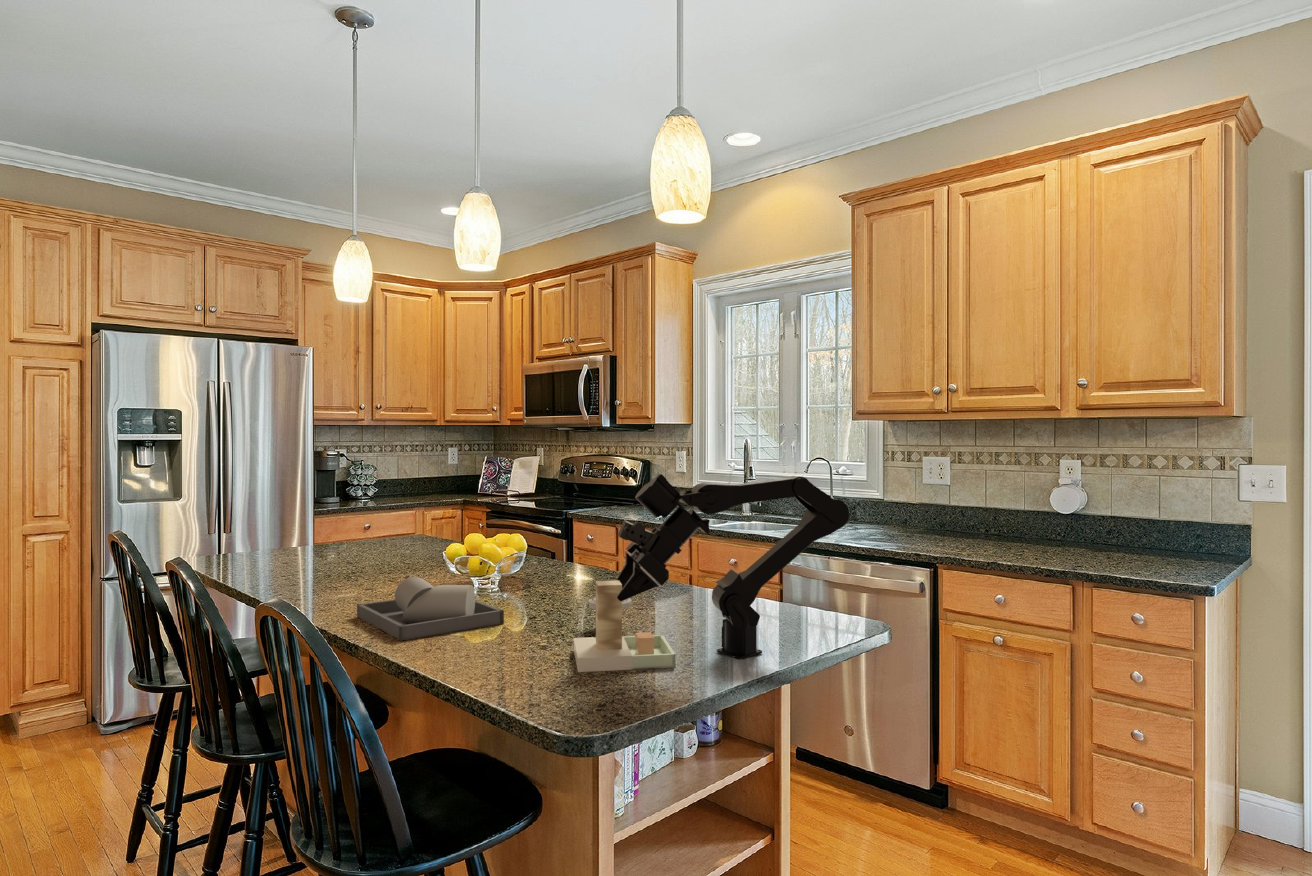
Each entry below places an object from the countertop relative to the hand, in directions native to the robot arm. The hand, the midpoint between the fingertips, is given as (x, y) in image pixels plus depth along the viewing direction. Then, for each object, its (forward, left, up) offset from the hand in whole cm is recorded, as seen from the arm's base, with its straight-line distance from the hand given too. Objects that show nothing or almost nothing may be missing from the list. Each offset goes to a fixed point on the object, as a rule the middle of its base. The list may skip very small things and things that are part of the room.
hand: (615, 594), depth 146 cm
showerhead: (+20, -13, -12) cm, 27 cm away
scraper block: (+1, +1, -10) cm, 10 cm away
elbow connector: (+52, +15, -12) cm, 55 cm away
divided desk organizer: (+52, +15, -12) cm, 55 cm away
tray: (-3, -5, -12) cm, 14 cm away
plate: (+1, +2, -12) cm, 12 cm away
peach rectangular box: (-2, -3, -10) cm, 11 cm away
